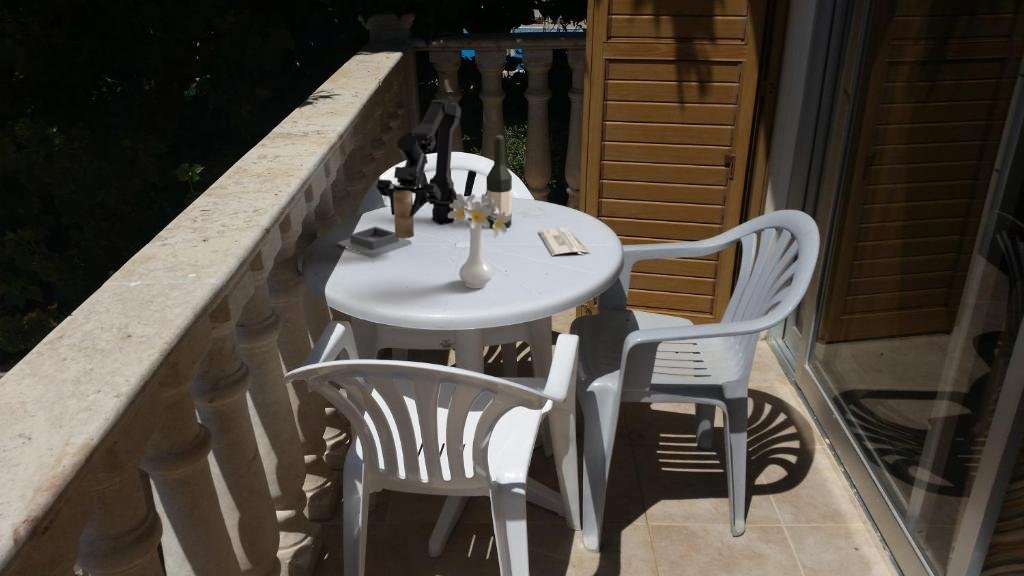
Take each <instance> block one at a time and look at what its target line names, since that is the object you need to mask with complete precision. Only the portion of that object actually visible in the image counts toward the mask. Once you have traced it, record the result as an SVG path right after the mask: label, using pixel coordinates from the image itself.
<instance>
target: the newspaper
mask: <svg viewBox="0 0 1024 576" xmlns="http://www.w3.org/2000/svg"><path fill="white" fill-rule="evenodd" d="M538 234H540V235H539V236H540V238H541V239H542V241H543V243H544V245H545V246H546V249H547V250H548V252H549V253H550V255H551V257H554V256H555V255H560V254H561V255H562V254H568V253H576V252H581V253H583V254H585V255H586V254H589V253H591V251H590V249H588V248H587V246H586V245H585V244H584V243H583V241H581V240H580V239H579V238H578V237H577V238H578V239H577V238H576V236H575V234H574V233H573V231H572V230H571V228H568V227H559V228H557V227H556V228H549V229H541V230H540V231H538ZM586 252H587V253H586Z"/></svg>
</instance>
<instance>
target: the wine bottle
mask: <svg viewBox="0 0 1024 576" xmlns="http://www.w3.org/2000/svg"><path fill="white" fill-rule="evenodd" d="M505 141H506V140H505V137H504V136H503V135H500V134H498V135H495V137H494V138H493V166H492V167H491V169H490V171H489V172H488V174H487V176H486V198H487V203H489V202H491V201H492V199H493V202H496V204H497V205H496V207H497V208H498V210H499V214H498V215H499V216H500V215H501V214H502V213H503V212H505V216H504V217H507V216H512V211H513V210H512V209H513V207H512V202H513V201H512V198H513V195H512V193H513V192H512V191H513V190H512V189H513V187H512V186H513V183H512V182H513V176H512V174H511V172H510V171H509V170H508V167H507V166H506V164H505V144H506V143H505ZM487 203H486V204H487ZM488 217H490V218H493V217H491V216H488ZM493 219H494V220H496V219H495V218H493ZM487 220H488V222H489V223H490V226H489V227H488V228H490V229H492V230H494V228H493V227H492V226H493V224H494V221H493V220H491V219H487ZM503 224H504V225H505V226H506V228H507V229H510V227H511V226H512V218H511V219H510V220H509V221H508V222H506V223H503Z"/></svg>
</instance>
